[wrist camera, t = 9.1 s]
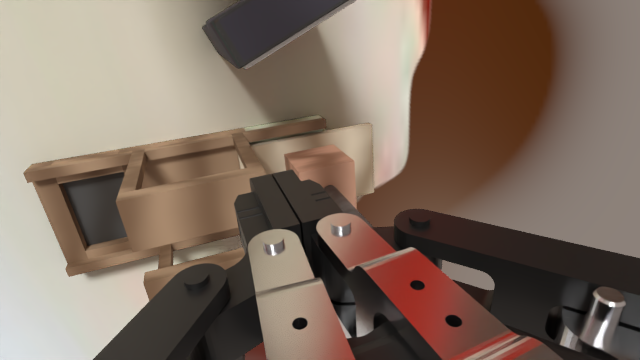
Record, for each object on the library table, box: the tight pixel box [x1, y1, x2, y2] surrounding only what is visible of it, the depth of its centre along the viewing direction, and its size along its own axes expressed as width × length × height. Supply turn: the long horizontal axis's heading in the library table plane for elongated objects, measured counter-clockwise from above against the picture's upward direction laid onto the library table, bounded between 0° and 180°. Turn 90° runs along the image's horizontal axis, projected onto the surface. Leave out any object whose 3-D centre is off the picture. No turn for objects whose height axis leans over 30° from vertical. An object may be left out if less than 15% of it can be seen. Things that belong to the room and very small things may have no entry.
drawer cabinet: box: [23, 115, 326, 301], centre depth 38 cm, size 30×12×14 cm, turn 95°
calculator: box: [202, 0, 356, 69], centre depth 33 cm, size 11×4×15 cm, turn 119°
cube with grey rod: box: [237, 123, 374, 227], centre depth 38 cm, size 16×9×19 cm, turn 95°
